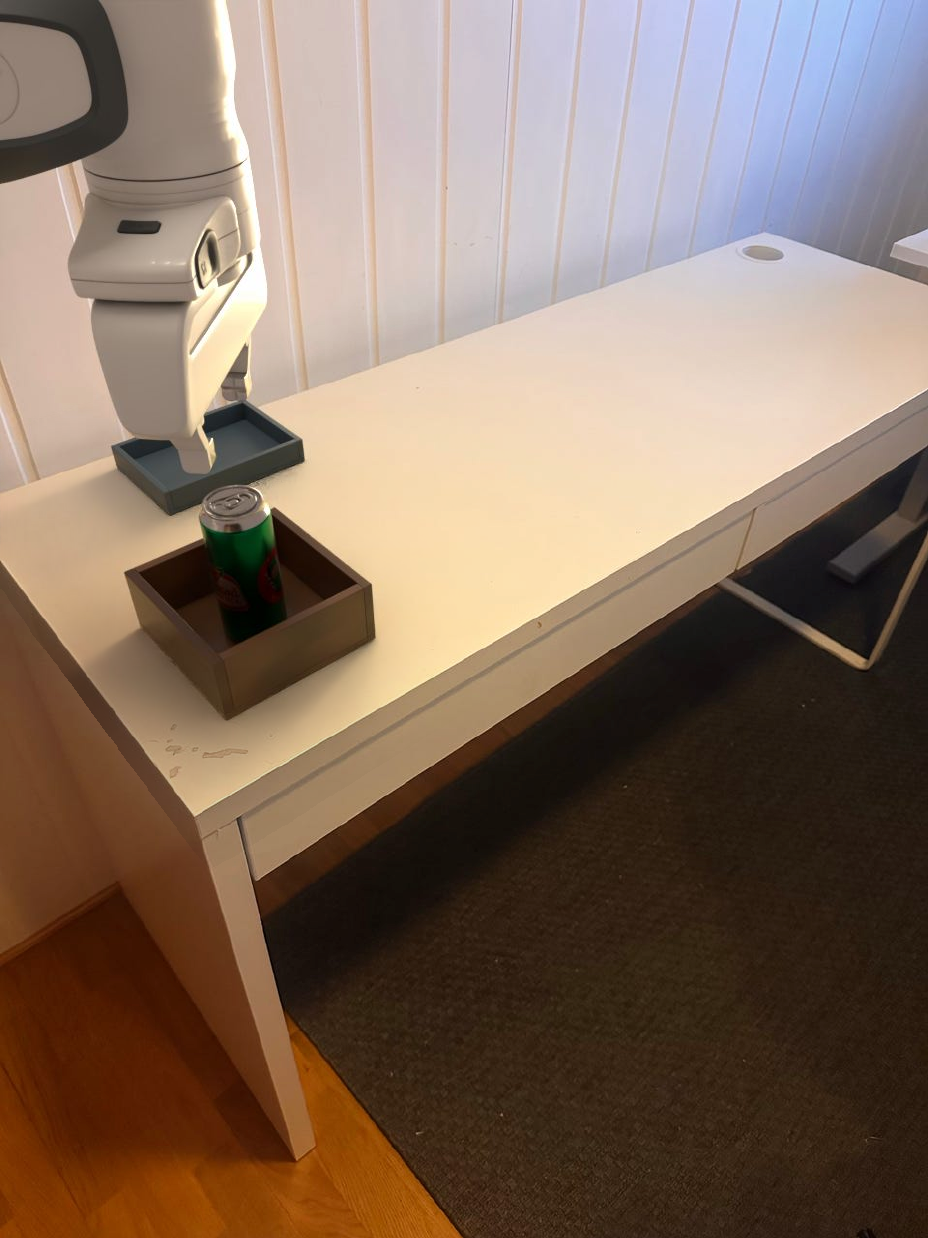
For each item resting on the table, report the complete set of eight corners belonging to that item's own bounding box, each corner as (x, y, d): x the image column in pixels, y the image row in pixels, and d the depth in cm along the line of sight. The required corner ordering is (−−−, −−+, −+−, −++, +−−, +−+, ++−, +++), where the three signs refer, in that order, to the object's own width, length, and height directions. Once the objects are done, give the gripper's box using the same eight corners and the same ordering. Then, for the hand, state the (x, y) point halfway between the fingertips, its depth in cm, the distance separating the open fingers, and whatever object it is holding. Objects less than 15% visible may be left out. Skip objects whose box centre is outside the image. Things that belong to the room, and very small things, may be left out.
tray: (169, 515, 84) (164, 493, 82) (116, 467, 90) (110, 445, 89) (305, 460, 92) (302, 439, 90) (247, 419, 98) (244, 398, 96)
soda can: (212, 623, 72) (183, 498, 64) (267, 597, 74) (245, 474, 66) (244, 657, 69) (218, 530, 61) (300, 629, 71) (282, 503, 63)
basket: (226, 721, 65) (212, 665, 61) (140, 626, 72) (123, 571, 69) (376, 638, 72) (372, 583, 68) (283, 559, 79) (274, 506, 75)
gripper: (178, 161, 59) (216, 359, 68) (51, 278, 43) (122, 514, 53) (273, 163, 58) (298, 362, 68) (179, 282, 43) (228, 518, 52)
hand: (220, 430), depth 60 cm, fingers open, 8 cm apart
